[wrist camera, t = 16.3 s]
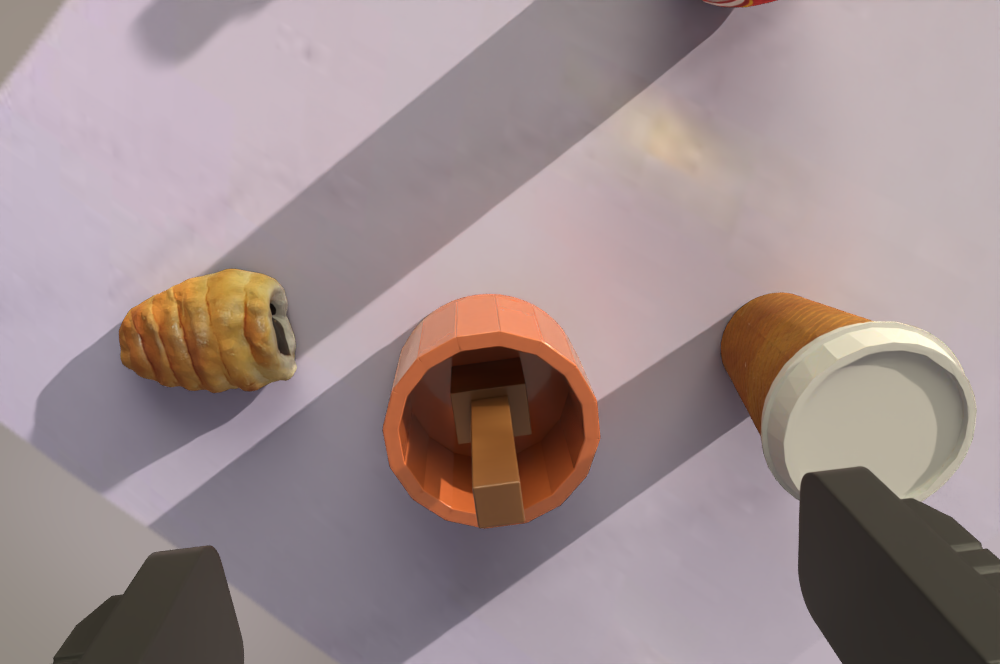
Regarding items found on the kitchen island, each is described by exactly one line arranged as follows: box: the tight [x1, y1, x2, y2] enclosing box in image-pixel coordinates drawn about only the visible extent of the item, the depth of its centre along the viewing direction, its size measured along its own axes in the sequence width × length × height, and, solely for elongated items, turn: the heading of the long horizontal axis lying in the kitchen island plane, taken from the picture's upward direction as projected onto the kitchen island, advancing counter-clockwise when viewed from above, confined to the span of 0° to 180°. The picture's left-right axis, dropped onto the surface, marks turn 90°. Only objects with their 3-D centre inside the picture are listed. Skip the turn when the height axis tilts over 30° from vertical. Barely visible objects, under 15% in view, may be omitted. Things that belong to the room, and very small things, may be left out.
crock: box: [382, 294, 600, 529], centre depth 41 cm, size 11×11×7 cm
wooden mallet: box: [450, 357, 532, 528], centre depth 37 cm, size 4×3×13 cm
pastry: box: [119, 269, 297, 393], centre depth 40 cm, size 9×7×4 cm
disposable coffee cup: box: [721, 293, 977, 502], centre depth 38 cm, size 10×10×12 cm
